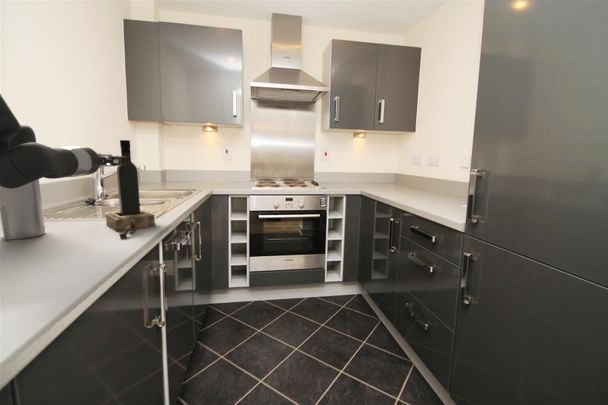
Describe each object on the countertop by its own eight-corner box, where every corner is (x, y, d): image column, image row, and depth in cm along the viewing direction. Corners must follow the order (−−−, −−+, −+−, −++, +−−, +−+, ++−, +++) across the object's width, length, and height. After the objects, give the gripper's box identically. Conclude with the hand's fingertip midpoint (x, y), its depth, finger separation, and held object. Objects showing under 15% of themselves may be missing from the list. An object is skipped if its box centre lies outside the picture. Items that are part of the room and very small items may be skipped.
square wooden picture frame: (116, 231, 96) (115, 218, 95) (106, 225, 104) (105, 212, 103) (154, 226, 104) (154, 213, 104) (143, 220, 112) (142, 208, 112)
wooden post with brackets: (139, 228, 97) (136, 217, 95) (129, 244, 90) (125, 233, 88) (133, 228, 97) (130, 217, 94) (123, 244, 90) (118, 233, 88)
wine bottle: (120, 225, 104) (113, 140, 100) (138, 223, 108) (132, 140, 103) (123, 228, 100) (116, 139, 95) (141, 226, 104) (136, 140, 99)
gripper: (103, 147, 74) (132, 147, 90) (42, 145, 72) (82, 145, 88) (106, 177, 75) (134, 171, 91) (45, 175, 74) (84, 170, 89)
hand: (108, 159), depth 90 cm, fingers open, 8 cm apart
